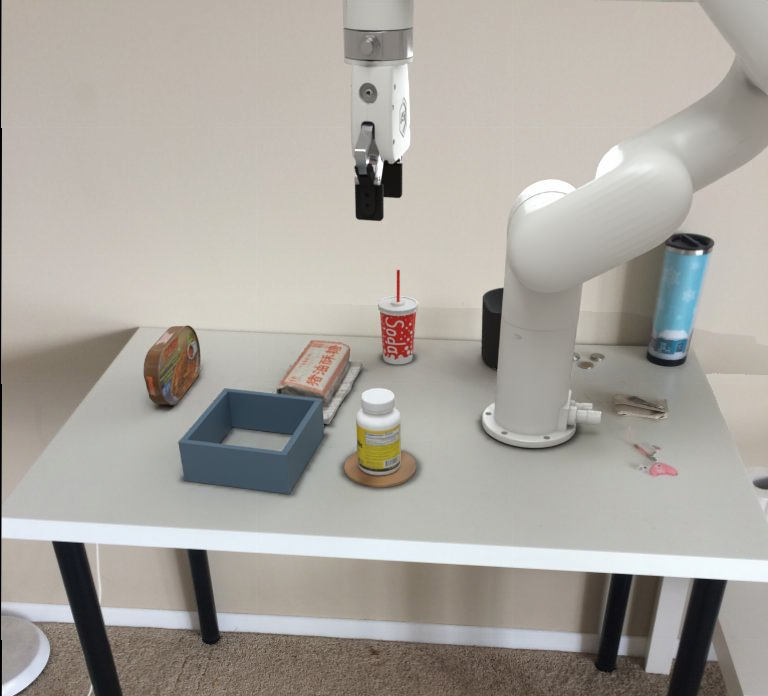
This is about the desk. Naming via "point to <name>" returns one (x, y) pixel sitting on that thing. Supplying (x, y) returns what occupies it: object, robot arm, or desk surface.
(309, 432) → the open box
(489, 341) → the pen holder
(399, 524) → the desk surface
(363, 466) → the supplement bottle
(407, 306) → the beverage cup
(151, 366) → the tin
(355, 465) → the coaster
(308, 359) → the packaged product
